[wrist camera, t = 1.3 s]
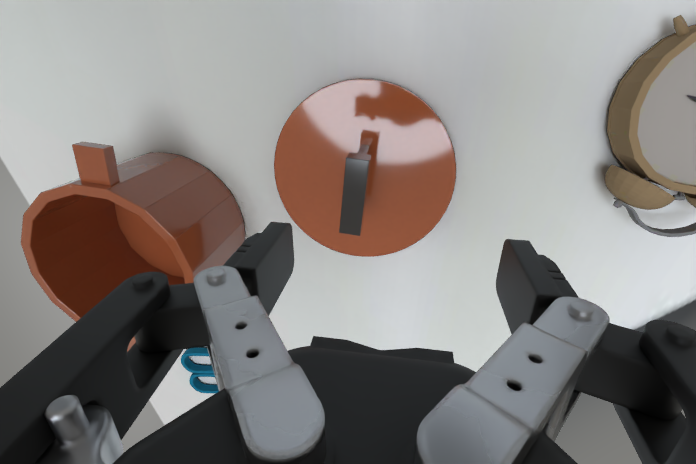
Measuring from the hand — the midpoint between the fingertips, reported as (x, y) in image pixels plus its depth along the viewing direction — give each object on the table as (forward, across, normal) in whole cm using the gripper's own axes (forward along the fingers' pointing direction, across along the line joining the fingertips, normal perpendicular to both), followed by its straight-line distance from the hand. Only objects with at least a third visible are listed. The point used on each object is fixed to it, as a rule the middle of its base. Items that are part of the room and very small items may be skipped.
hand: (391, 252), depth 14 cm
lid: (+19, +3, +3) cm, 19 cm away
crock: (+20, +22, +9) cm, 31 cm away
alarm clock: (+20, -21, -2) cm, 29 cm away
